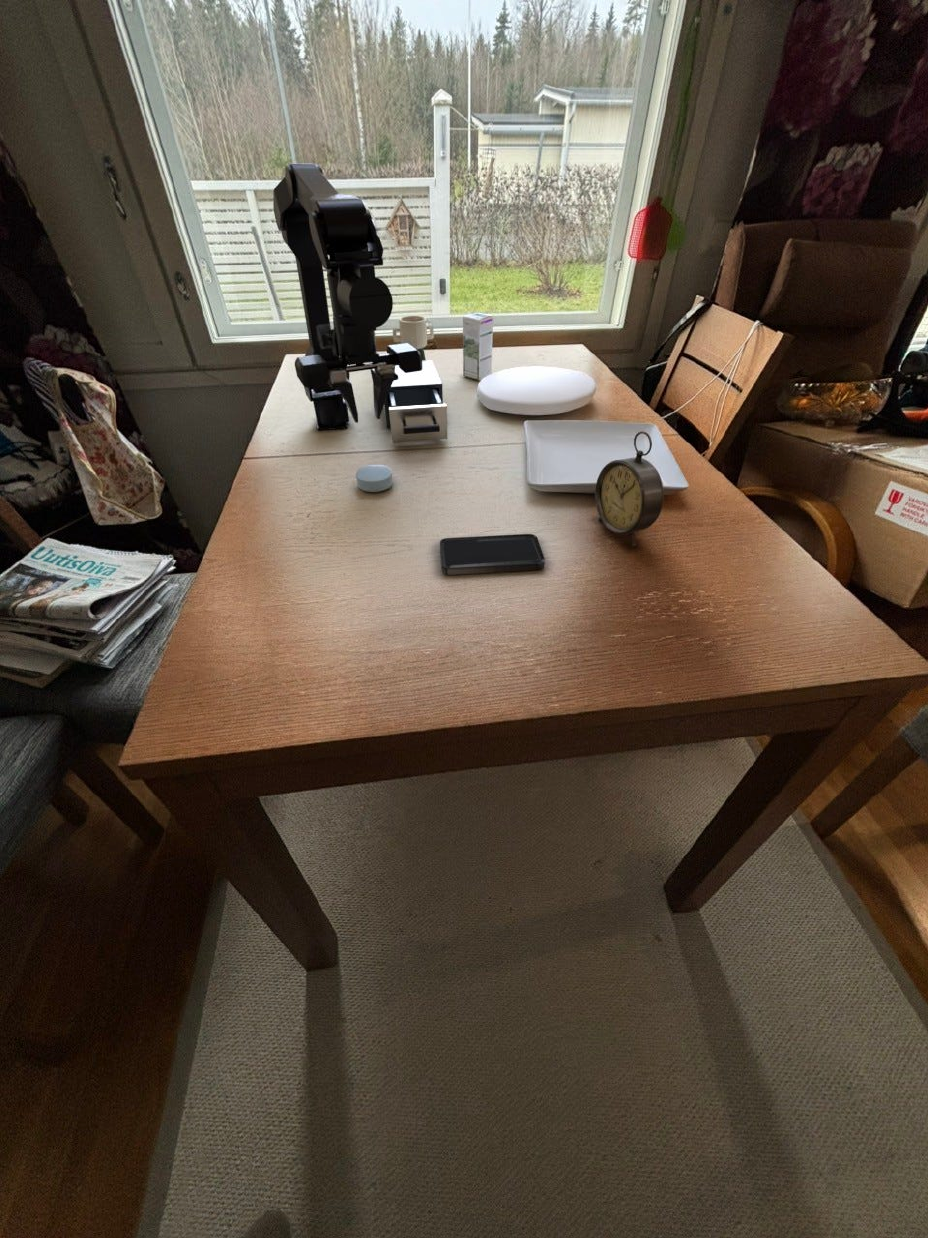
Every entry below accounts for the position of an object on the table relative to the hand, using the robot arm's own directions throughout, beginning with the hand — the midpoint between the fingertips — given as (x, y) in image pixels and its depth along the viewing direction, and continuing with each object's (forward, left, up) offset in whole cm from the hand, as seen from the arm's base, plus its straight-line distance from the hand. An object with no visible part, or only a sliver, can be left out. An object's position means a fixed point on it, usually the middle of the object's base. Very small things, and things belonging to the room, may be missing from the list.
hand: (367, 419), depth 83 cm
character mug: (+14, +62, -12) cm, 65 cm away
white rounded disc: (+40, +35, -12) cm, 55 cm away
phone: (+16, -25, -12) cm, 32 cm away
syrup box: (+30, +56, -12) cm, 65 cm away
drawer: (+10, +21, -11) cm, 26 cm away
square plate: (+42, 0, -12) cm, 44 cm away
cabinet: (+10, +34, -12) cm, 37 cm away
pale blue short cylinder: (0, 0, -12) cm, 12 cm away
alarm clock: (+38, -22, -12) cm, 46 cm away
